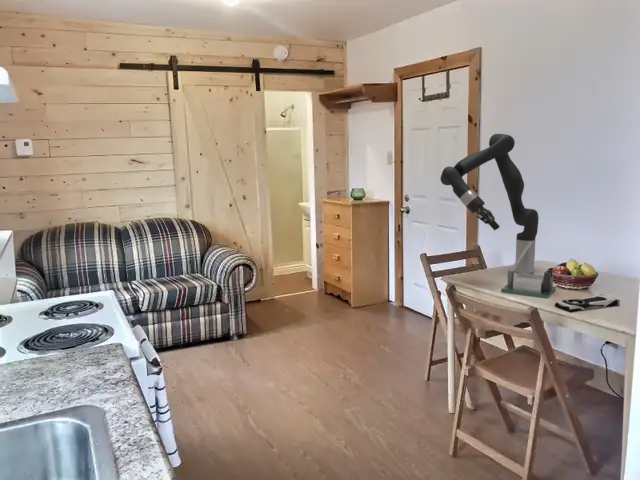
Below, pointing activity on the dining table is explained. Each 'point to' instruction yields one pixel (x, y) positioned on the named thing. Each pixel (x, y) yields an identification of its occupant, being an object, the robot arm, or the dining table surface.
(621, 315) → the dining table surface
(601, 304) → the graphics card
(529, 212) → the robot arm
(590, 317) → the dining table surface
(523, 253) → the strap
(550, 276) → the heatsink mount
